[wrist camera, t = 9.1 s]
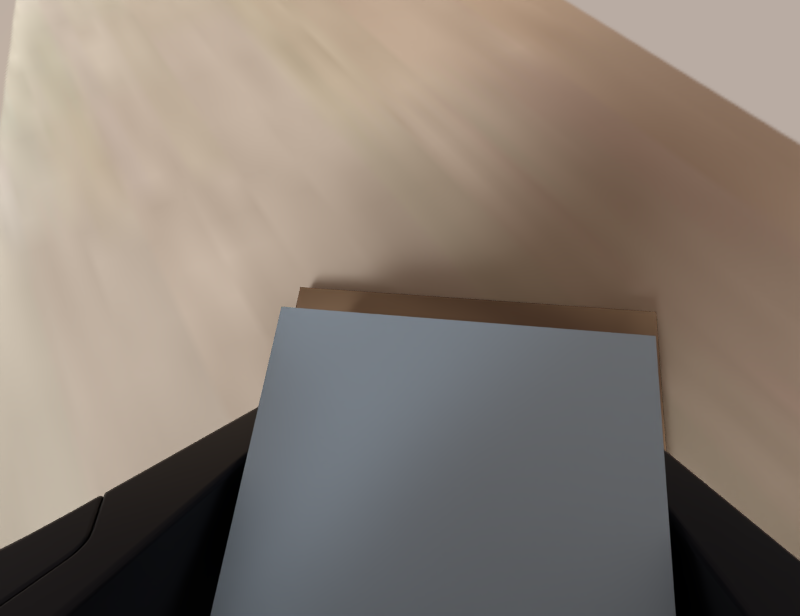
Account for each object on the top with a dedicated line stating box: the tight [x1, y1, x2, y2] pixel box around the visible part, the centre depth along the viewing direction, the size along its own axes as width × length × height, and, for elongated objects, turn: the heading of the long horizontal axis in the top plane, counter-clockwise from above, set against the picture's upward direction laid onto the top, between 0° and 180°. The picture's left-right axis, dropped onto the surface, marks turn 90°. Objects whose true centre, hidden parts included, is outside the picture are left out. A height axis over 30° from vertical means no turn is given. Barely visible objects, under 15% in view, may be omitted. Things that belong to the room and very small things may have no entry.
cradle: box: [296, 287, 666, 451], centre depth 16 cm, size 15×15×3 cm
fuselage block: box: [210, 307, 676, 616], centre depth 9 cm, size 5×5×9 cm
